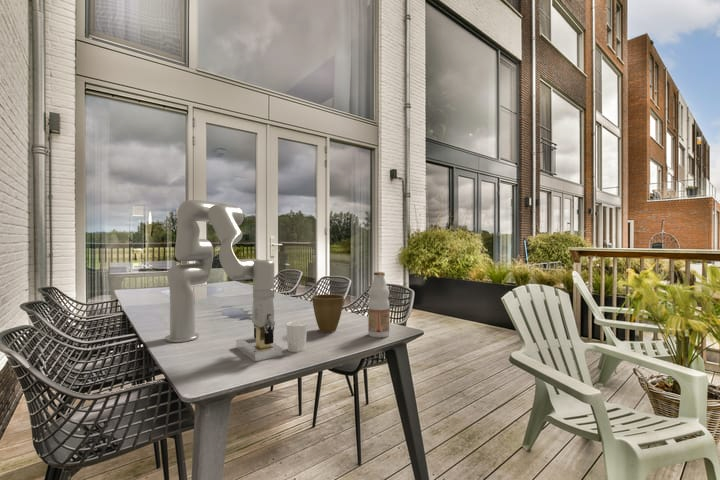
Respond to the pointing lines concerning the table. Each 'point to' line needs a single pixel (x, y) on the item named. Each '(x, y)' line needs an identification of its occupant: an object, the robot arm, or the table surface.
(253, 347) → the rail
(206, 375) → the table surface
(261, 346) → the brass square peg
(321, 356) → the table surface
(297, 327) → the white cup
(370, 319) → the fruit juice
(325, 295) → the plant pot
